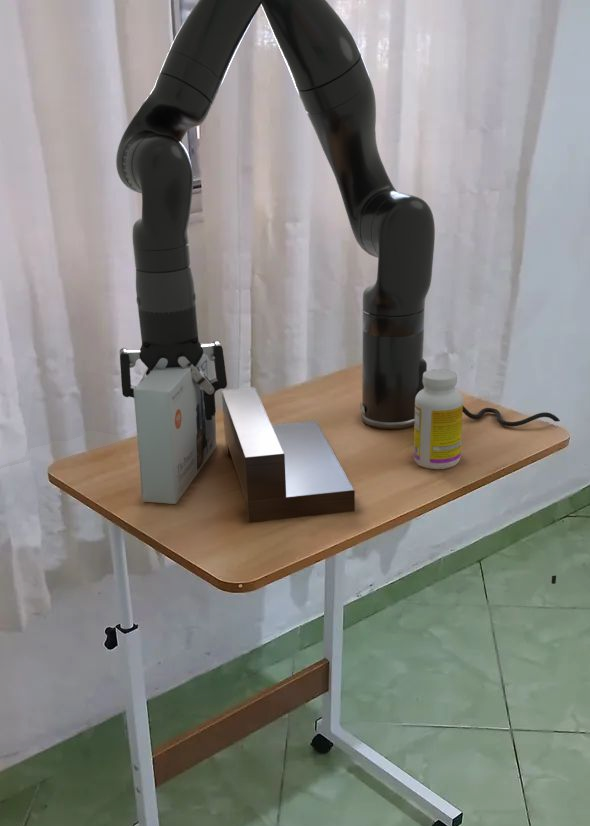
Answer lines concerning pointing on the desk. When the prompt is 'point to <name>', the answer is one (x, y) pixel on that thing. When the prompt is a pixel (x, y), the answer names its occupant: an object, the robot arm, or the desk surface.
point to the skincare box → (172, 431)
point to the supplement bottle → (438, 420)
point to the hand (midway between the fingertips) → (177, 421)
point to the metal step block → (282, 462)
